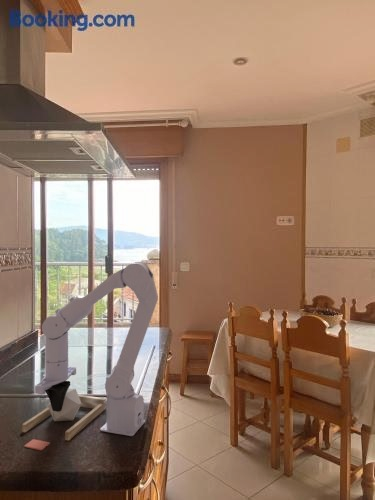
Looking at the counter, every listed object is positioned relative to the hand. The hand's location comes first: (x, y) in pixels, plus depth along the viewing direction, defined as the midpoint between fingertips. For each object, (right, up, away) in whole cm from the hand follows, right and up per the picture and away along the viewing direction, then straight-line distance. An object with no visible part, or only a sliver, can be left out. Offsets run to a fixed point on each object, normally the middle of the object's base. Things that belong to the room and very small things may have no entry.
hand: (57, 410), depth 94 cm
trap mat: (-2, -5, -9) cm, 10 cm away
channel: (+1, -4, +4) cm, 6 cm away
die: (+1, -5, +5) cm, 6 cm away
